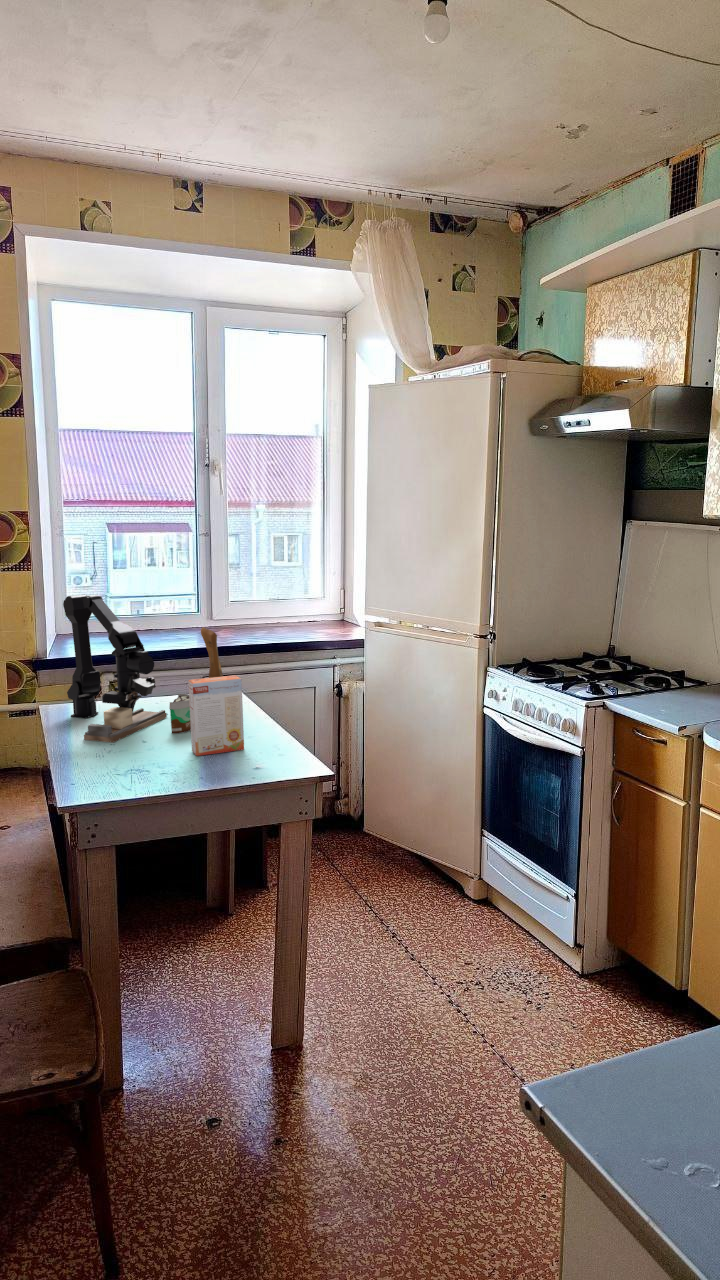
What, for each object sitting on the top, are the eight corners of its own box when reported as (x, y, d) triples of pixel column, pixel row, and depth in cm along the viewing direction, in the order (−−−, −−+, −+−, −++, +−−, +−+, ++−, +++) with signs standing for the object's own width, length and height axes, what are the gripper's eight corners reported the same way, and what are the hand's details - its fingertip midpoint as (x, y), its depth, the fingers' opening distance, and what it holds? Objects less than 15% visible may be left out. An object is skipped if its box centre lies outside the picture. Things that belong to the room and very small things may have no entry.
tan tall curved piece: (209, 719, 278) (206, 633, 273) (202, 705, 296) (200, 624, 291) (230, 717, 279) (227, 632, 275) (222, 704, 297) (220, 623, 293)
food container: (190, 735, 260) (189, 702, 258) (170, 735, 260) (169, 702, 258) (199, 724, 272) (198, 693, 270) (179, 724, 272) (178, 693, 270)
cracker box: (238, 745, 249) (236, 674, 246) (244, 750, 244) (242, 678, 240) (190, 751, 244) (187, 678, 240) (195, 756, 238) (192, 683, 235)
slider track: (84, 739, 255) (83, 725, 254) (139, 715, 283) (139, 701, 283) (113, 742, 252) (112, 727, 251) (166, 717, 280) (166, 703, 279)
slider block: (104, 727, 261) (103, 711, 260) (115, 722, 267) (115, 706, 266) (121, 729, 259) (120, 713, 259) (132, 724, 265) (131, 708, 264)
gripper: (131, 678, 254) (134, 729, 257) (165, 665, 272) (167, 713, 275) (99, 675, 258) (102, 726, 260) (134, 663, 275) (136, 711, 278)
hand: (128, 719), depth 268 cm, fingers closed
